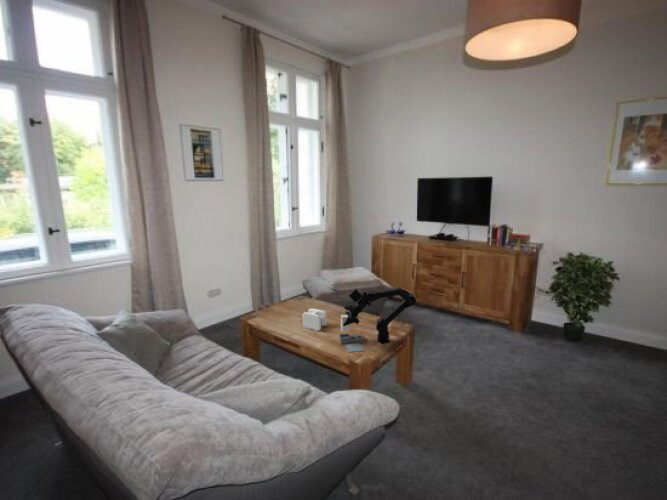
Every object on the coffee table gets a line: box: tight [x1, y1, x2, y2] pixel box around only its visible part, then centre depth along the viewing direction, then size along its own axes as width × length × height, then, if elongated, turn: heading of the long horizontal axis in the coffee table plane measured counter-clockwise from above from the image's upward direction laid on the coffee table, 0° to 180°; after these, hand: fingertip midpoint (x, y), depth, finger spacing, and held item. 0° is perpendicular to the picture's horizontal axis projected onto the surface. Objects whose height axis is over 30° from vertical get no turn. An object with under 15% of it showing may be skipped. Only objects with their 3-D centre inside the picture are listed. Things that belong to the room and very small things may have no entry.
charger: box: [340, 314, 350, 333], centre depth 224 cm, size 4×4×10 cm
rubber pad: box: [344, 343, 365, 353], centre depth 219 cm, size 10×10×1 cm
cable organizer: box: [302, 308, 328, 332], centre depth 248 cm, size 15×11×12 cm
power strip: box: [338, 332, 367, 346], centre depth 227 cm, size 16×7×4 cm, turn 100°
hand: (342, 324), depth 224 cm, fingers closed on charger, 4 cm apart
